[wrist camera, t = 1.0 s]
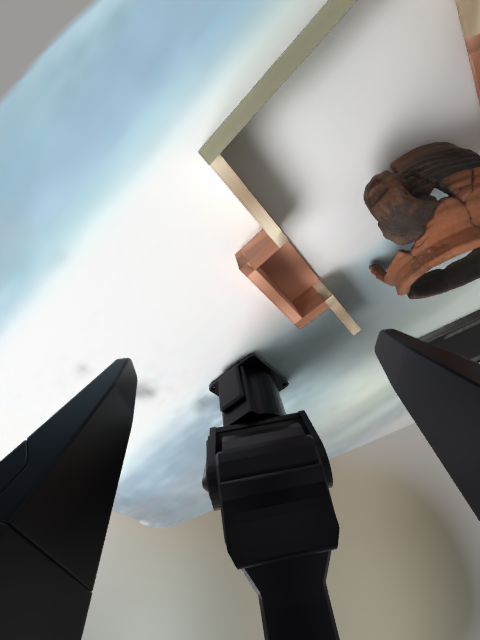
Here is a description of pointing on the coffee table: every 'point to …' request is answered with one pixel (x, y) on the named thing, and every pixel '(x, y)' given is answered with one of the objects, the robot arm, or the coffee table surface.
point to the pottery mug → (429, 218)
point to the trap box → (270, 243)
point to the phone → (459, 337)
